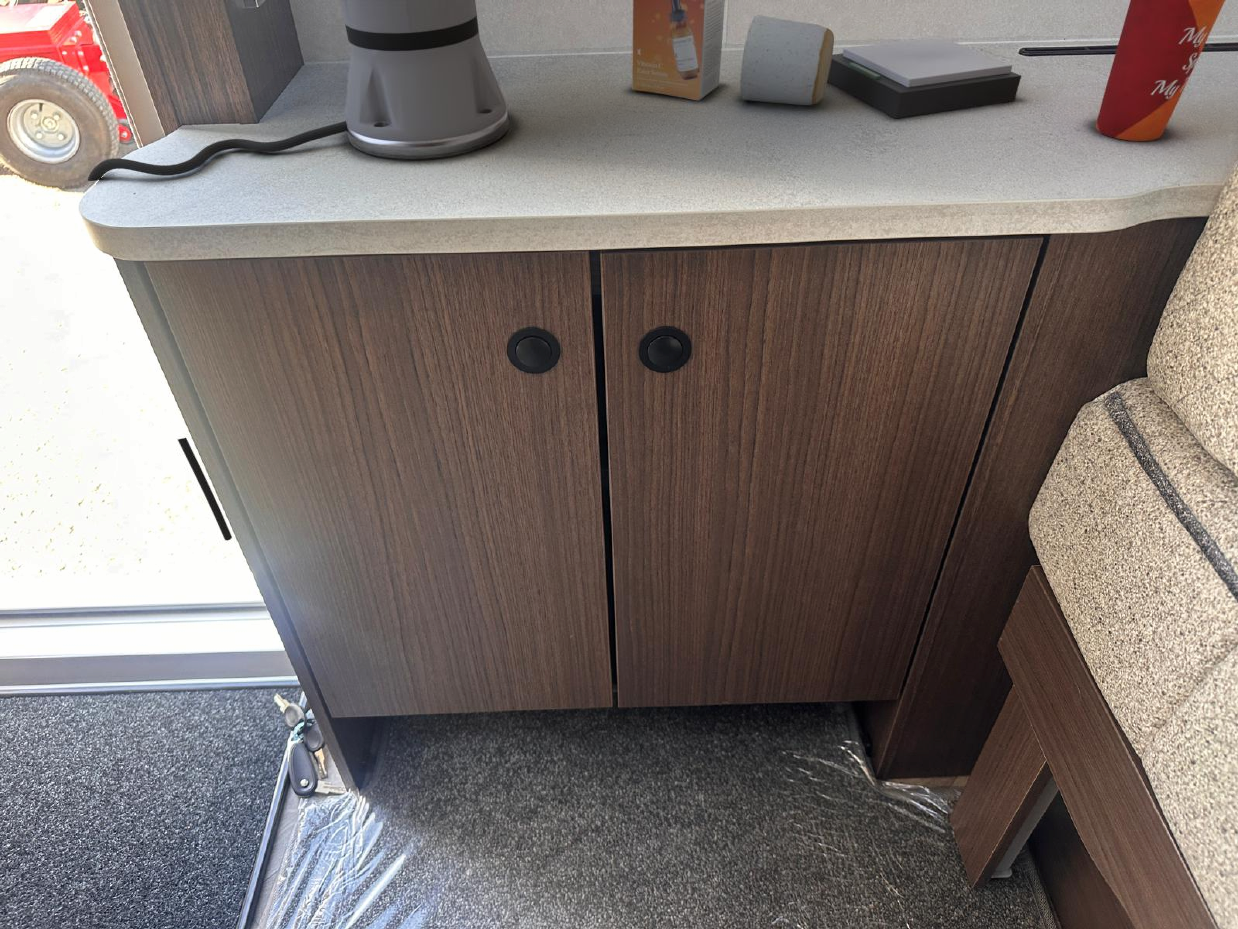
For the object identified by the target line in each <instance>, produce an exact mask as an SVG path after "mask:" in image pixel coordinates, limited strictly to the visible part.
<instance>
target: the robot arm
mask: <svg viewBox="0 0 1238 929" xmlns="http://www.w3.org/2000/svg"><path fill="white" fill-rule="evenodd" d="M339 3H340V8H341V13H342V17H343V22H344V26H345V31H346V36H347V41H348V47H349V63H348V76H347V87H346V97H345V98H346V100H345V111H344V119H345V121H344V120H343V121H341V122H337V123H333V124H329V125H325V126H322V127H318V128H315V129H310V130H308V131H305V132H301V133H298V134H296V135H294V136H290V137H287V138H284V139H280V140H275V141H268V142H267V141H256V140H251V139H243V138H229V139H223V140H218V141H216V142H213V143H210V144H209V145H206V146H204V147H203V148H202V149H201V150H200V151H199V152H197V154H195V155H194V156H193V157H191V158H190V159H188V160H185V161H182V162H180V163H175V164H163V165H161V164H153V163H146V162H142V161H137V160H133V159H127V158H118V157H117V158H116V157H115V158H107V159H105V160H103V161H101V162H99V163H98V164H97V165H96V166H95V167H94V168H93V169H92V170H91V171H90V173H89V175H88V177H87V181H88V182H96V181H99V180H101V179H102V178H103V177H104V175H106V174H107V173H108V172H110V171H112V170H130V171H134V172H137V173H142V174H148V175H152V176H153V175H154V176H163V177H164V176H165V177H166V176H176V175H182V174H185V173H189V172H191V171H194V170H196V169H197V168H199V167H201V166H202V165H204V164H205V163H206V162H207V161H208V160H209V159H210V158H211V157H213V156H214V155H216V154H218V153H220V152H224V151H227V150H234V149H238V150H239V149H241V150H247V151H253V152H260V153H274V152H275V153H276V152H282V151H286V150H289V149H293V148H295V147H298V146H301V145H303V144H307V143H309V142H313V141H317V140H320V139H323V138H328V137H330V136H334V135H338V134H342V133H345V132H347V136H348V141H349V142H350V144H351V145H352V146H353V147H354V148H356V149H357V150H359V151H361V152H363V153H366V154H369V155H373V156H378V157H383V158H390V159H402V160H403V159H405V160H410V159H411V160H415V159H417V160H419V159H433V158H444V157H449V156H454V155H460V154H464V153H468V152H471V151H476V150H478V149H481V148H483V147H486V146H488V145H490V144H492V143H494V142H496V141H498V140H499V139H501V137H503V136H504V135H505V134H506V133H507V132H508V129H509V127H510V126H509V125H510V123H509V114H508V106H507V103H506V99H505V97H504V95H503V92H502V90H501V87H500V85H499V83H498V81H497V78H496V75H495V73H494V71H493V68H492V66H491V64H490V61H489V59H488V57H487V54H486V51H485V49H484V46H483V44H482V41H481V37H480V36H481V35H480V29H479V21H478V11H477V3H476V0H339ZM176 440H177V442H178V444H179V446H180V447H181V450H182V452H183V454H184V456H185V458H186V460H187V462H188V465H189V466H190V469H191V470H192V472H193V474H194V476H195V478H196V480H197V482H198V484H199V486H200V489H201V491H202V493H203V495H204V497H205V500H206V502H207V504H208V506H209V507H210V508H209V509H210V511H211V513H212V514H213V517H214V519H215V521H216V523H217V526H218V528H219V530H220V532H221V534H222V537H223V539H224V541H227V542H228V541H231V540H232V538H233V536H232V533H231V531H230V529H229V527H228V524H227V522H226V519H225V517H224V515H223V513H222V511H221V507H220V506H219V504H218V502H217V500H216V497H215V495H214V492H213V491H212V488H211V486H210V484H209V482H208V479H207V478H206V475H205V474H204V472H203V470H202V467H201V465H200V463H199V461H198V459H197V457H196V455H195V452H194V451H193V449H192V447H191V444H190V443H189V441H188V438H187V437H182V438H177V439H176Z"/></svg>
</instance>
